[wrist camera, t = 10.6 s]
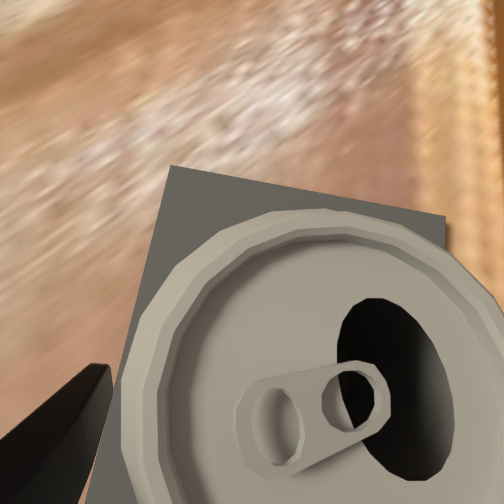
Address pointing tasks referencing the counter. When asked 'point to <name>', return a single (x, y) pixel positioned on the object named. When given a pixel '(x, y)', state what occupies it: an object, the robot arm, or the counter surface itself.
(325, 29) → the counter surface
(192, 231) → the bar mat
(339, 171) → the counter surface
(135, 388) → the can
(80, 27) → the counter surface
